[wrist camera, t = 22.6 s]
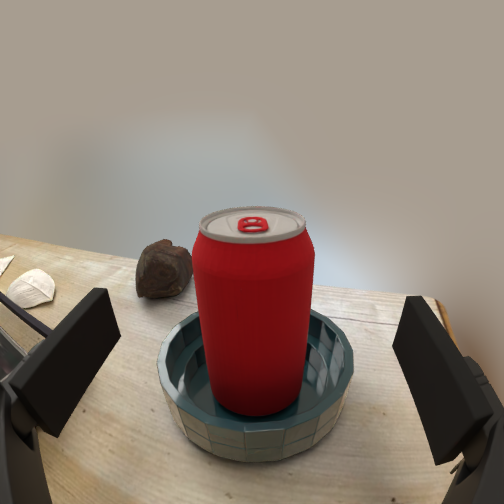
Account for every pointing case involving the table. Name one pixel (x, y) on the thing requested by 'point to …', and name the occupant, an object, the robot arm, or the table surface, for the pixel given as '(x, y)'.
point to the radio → (6, 348)
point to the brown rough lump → (163, 270)
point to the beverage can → (254, 305)
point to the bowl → (256, 427)
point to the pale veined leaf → (31, 289)
